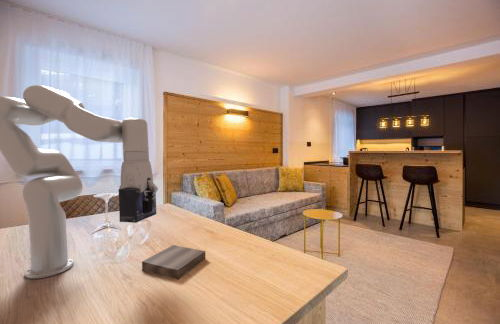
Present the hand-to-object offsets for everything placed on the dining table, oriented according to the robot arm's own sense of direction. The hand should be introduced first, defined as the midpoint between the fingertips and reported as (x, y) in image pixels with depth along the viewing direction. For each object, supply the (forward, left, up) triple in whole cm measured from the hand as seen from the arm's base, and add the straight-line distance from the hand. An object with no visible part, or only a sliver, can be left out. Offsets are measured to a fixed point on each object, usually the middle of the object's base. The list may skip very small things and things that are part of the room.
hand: (139, 211), depth 78 cm
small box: (0, 0, -3) cm, 3 cm away
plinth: (+7, +8, -20) cm, 23 cm away
